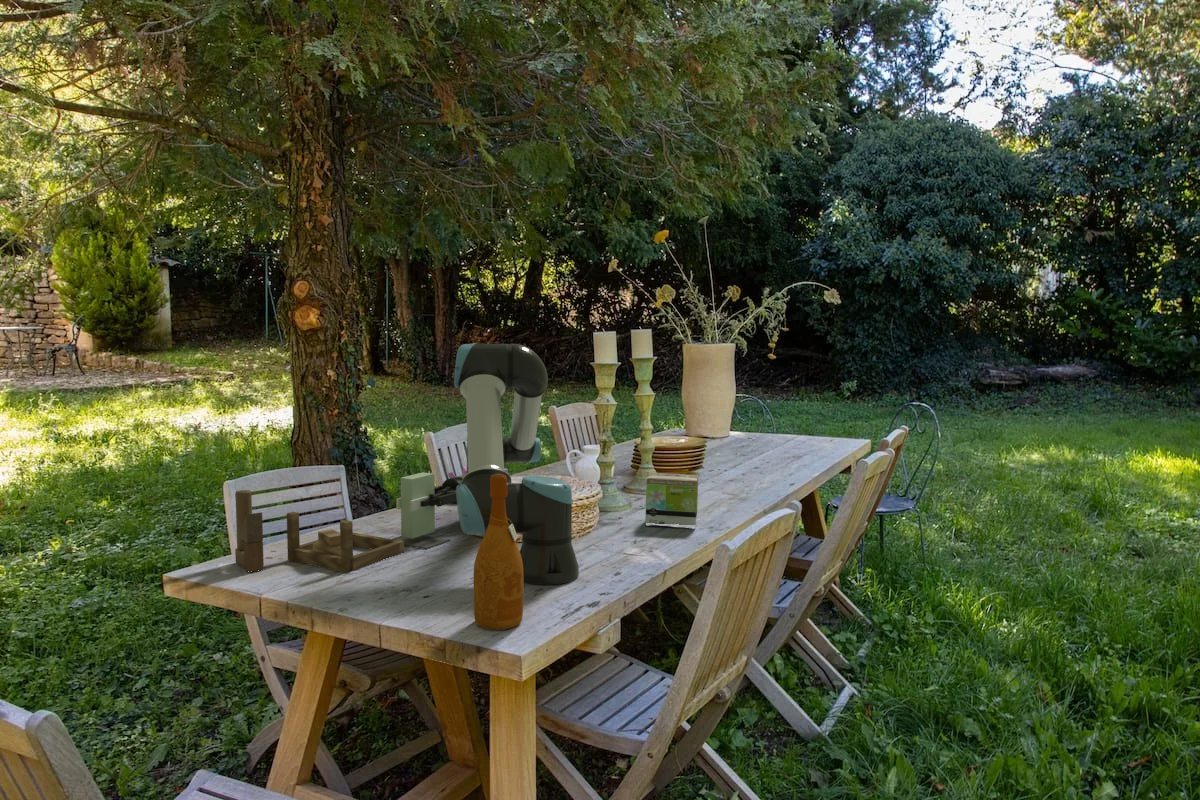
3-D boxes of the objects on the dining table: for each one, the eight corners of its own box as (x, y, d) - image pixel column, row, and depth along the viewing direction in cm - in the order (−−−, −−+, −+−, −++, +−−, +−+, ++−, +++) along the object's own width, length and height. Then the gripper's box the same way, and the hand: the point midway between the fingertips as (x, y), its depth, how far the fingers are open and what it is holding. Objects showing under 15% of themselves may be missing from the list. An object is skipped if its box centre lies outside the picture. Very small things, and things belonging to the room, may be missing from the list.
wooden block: (248, 573, 193) (246, 498, 191) (235, 562, 201) (232, 490, 199) (264, 570, 195) (262, 496, 193) (250, 560, 203) (248, 489, 202)
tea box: (644, 527, 240) (645, 477, 239) (648, 519, 250) (649, 471, 249) (696, 529, 238) (697, 479, 237) (697, 521, 248) (698, 473, 247)
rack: (404, 552, 211) (403, 507, 210) (347, 572, 194) (346, 523, 193) (347, 542, 220) (346, 498, 219) (287, 560, 203) (286, 513, 202)
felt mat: (450, 540, 223) (450, 539, 223) (426, 549, 214) (426, 548, 214) (410, 534, 230) (410, 532, 230) (385, 542, 221) (385, 540, 221)
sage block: (434, 531, 225) (434, 473, 223) (412, 538, 217) (412, 479, 216) (423, 529, 227) (422, 472, 225) (401, 536, 219) (400, 477, 217)
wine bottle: (496, 636, 155) (495, 481, 153) (463, 623, 162) (462, 474, 159) (533, 622, 163) (534, 474, 160) (500, 610, 169) (500, 467, 166)
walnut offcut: (343, 545, 200) (343, 534, 200) (330, 547, 198) (329, 537, 197) (331, 539, 205) (331, 529, 205) (318, 541, 203) (318, 531, 203)
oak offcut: (349, 553, 202) (348, 543, 202) (340, 557, 199) (340, 546, 199) (322, 550, 205) (321, 539, 204) (312, 553, 201) (312, 543, 201)
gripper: (483, 505, 233) (429, 522, 213) (436, 498, 241) (380, 514, 221) (483, 479, 233) (429, 494, 212) (435, 473, 241) (379, 487, 220)
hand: (404, 504), depth 216 cm, fingers closed on sage block, 4 cm apart
